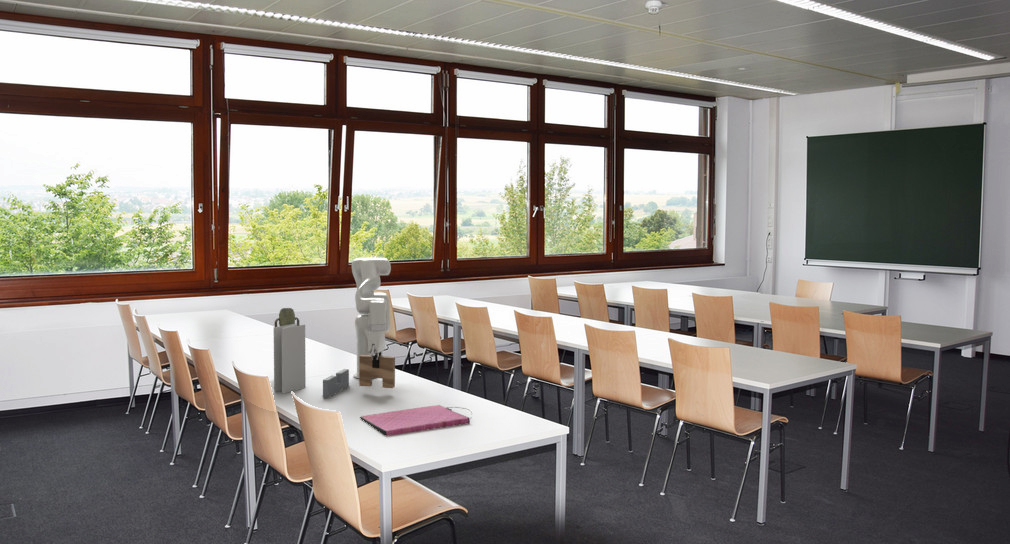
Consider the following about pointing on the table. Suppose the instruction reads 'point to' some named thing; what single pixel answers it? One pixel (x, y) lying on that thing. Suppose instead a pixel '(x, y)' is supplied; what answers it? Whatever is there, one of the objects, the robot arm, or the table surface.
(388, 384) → the walnut plate
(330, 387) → the stepped grey block
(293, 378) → the tall grey pillar
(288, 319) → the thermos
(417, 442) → the table surface
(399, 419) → the laptop bag
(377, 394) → the table surface
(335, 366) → the table surface
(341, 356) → the table surface
